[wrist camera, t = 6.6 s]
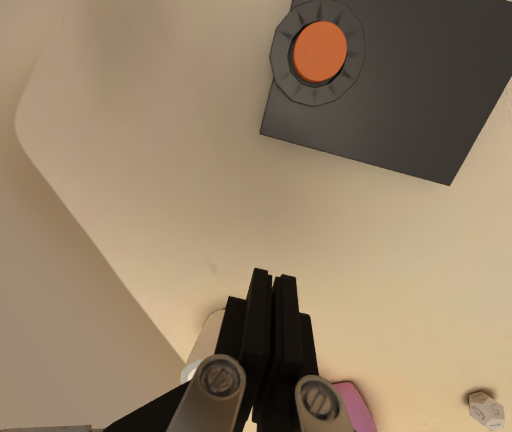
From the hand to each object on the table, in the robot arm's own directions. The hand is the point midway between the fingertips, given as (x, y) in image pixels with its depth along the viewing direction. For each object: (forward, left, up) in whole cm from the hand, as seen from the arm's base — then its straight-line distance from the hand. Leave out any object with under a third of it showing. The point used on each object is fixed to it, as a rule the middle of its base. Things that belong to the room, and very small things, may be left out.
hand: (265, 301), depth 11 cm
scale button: (0, +10, -13) cm, 16 cm away
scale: (+6, +11, -15) cm, 19 cm away
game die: (+31, -18, -15) cm, 39 cm away
